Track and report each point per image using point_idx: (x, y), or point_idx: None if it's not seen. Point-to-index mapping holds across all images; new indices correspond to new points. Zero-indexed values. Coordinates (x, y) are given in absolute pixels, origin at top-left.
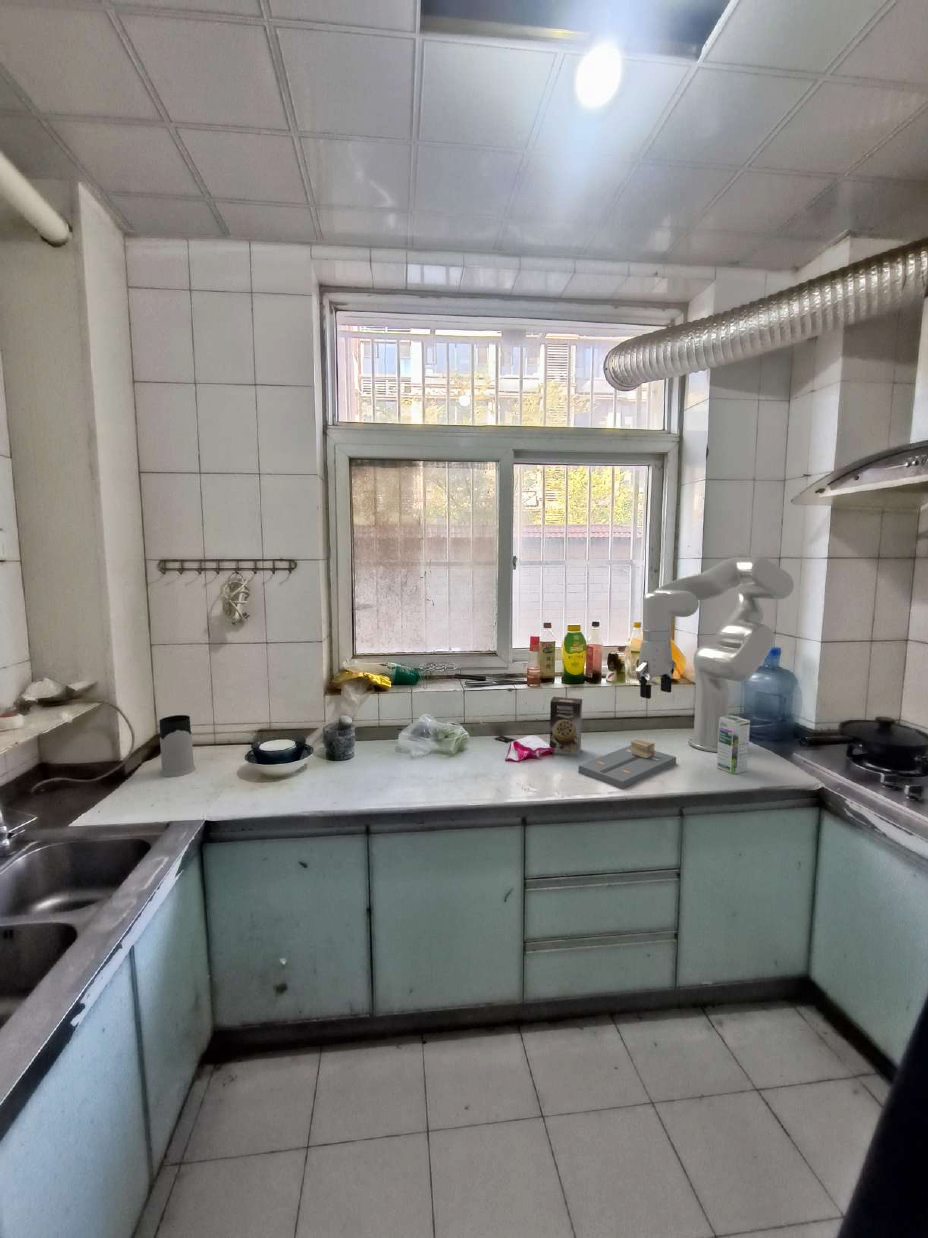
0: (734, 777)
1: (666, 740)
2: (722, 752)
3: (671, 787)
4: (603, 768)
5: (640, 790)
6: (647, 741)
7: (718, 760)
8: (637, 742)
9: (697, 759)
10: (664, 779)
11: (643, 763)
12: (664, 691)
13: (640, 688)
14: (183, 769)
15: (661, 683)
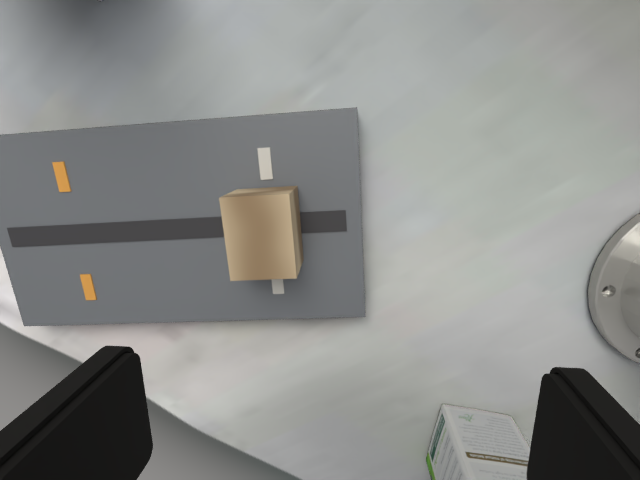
0: (407, 464)
1: (613, 117)
2: (450, 473)
3: (183, 391)
4: (37, 217)
5: (87, 349)
6: (289, 244)
7: (446, 430)
8: (236, 223)
9: (472, 327)
10: (213, 350)
11: (203, 278)
12: (542, 414)
13: (24, 416)
14: None
15: (608, 463)
